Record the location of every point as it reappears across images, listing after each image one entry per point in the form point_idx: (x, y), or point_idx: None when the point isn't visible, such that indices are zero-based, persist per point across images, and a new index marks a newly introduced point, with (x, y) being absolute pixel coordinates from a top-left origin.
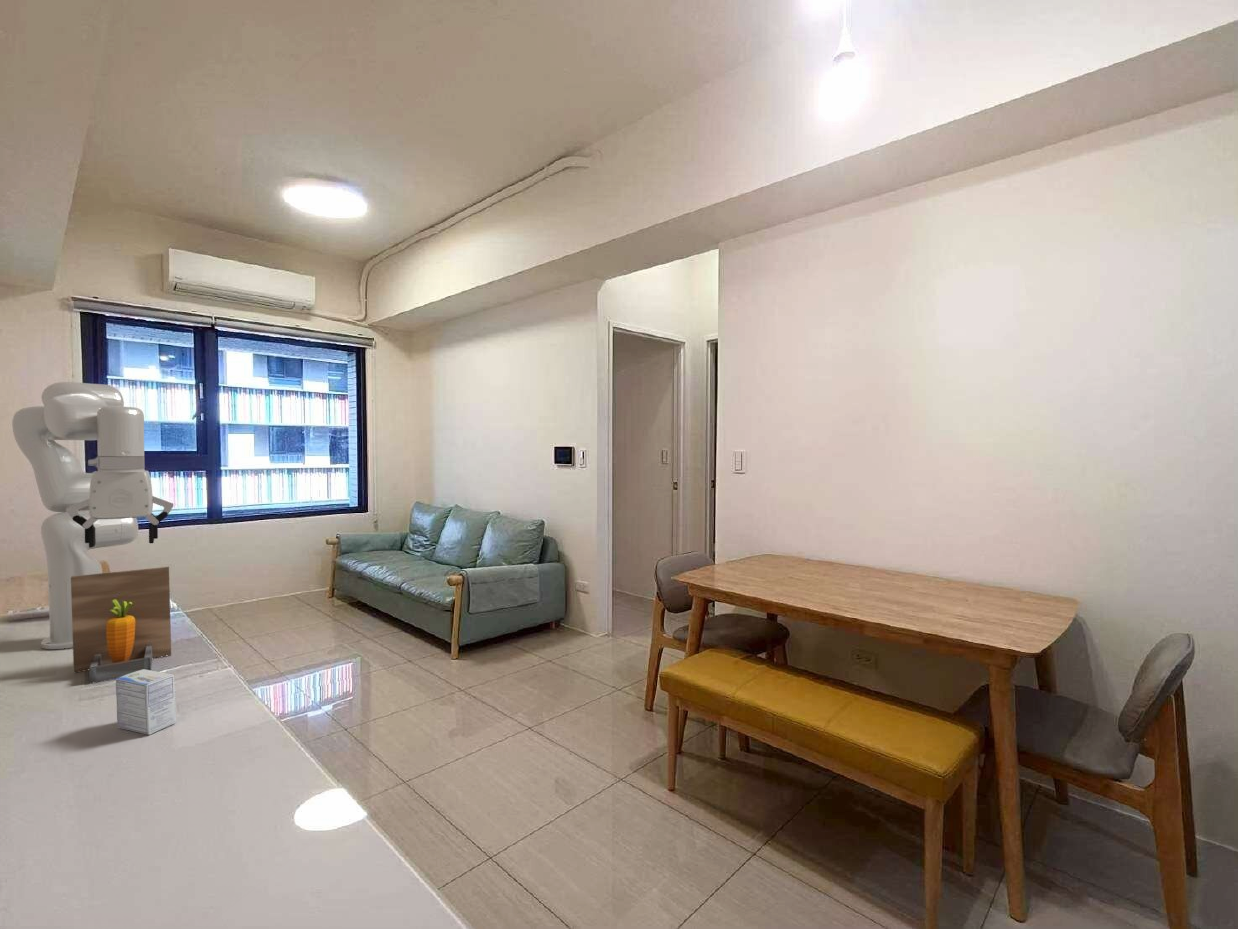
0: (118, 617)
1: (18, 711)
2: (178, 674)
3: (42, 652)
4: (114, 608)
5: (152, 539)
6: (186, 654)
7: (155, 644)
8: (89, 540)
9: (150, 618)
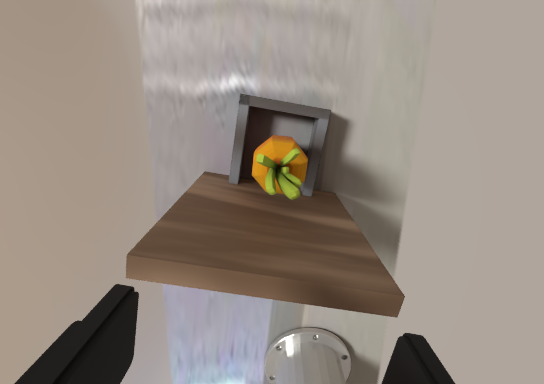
0: (285, 165)
1: (422, 44)
2: (206, 39)
3: (351, 336)
4: (297, 149)
5: (108, 294)
6: (182, 159)
7: (222, 182)
8: (440, 367)
9: (220, 200)
